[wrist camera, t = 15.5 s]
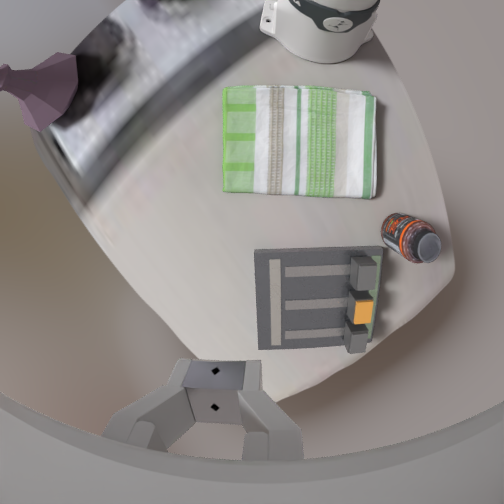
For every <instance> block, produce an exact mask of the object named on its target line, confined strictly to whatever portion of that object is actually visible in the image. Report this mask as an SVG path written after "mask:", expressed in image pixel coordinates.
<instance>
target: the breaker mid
mask: <svg viewBox="0 0 504 504" xmlns="http://www.w3.org/2000/svg"><path fill="white" fill-rule="evenodd" d="M373 299H374V298H373V297H372V296H371V295H370V293H369V292H368V291H367V290H362V291H358V290H355V291H349V296H348V307H347V315H348V317H349V319H350V320H351V322H352V324H364V323H371V316H372V309H373V302H374V301H373Z"/></svg>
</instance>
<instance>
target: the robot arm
mask: <svg viewBox="0 0 504 504" xmlns="http://www.w3.org/2000/svg"><path fill="white" fill-rule="evenodd" d="M379 3H380V0H265V3H264V8H263V12H262V17H261V22H260V30H261V31H262V32H263V33H265V34H267V35H269V36H272V37H274V38H276V39H277V40H278V41H279V42H280V43H281V44H282V45H283V46H284V47H285V48H286V49H288V50H289V51H290V52H292V53H293V54H295V55H297V56H299V57H301V58H303V59H306V60H309V61H313V62H317V63H337V62H341V61H344V60H346V59H348V58H350V57H351V56H353V55H354V54H355V53H356V51H357V50H358V48H359V47H360V46H361V45H362V44H363V43H366V42H368V41H370V40H371V39H372V37H373V31H372V29H371V28H372V26H373V24H374V22H375V20H376V18H377V13H376V12H375V11H376V10H377V8H378V5H379ZM266 21H271V22H266ZM195 422H204V423H221V424H237V425H242V426H243V428H244V429H245V430H246V432H247V434H246V435H245V438H244V446H243V454H242V460H225V459H211V458H202V457H194V456H186V455H179V454H173V453H168V451H167V449H168V448H169V447H170V446H171V445H172V444H173V443H174V442H175V441H177V439H179V438H180V437H181V436H182V435H183V434H184V433H186V431H188V430H189V429H190V428H191V427H192V426H193V425H194V424H195ZM0 504H504V401H503V402H501V403H499V404H497V405H495V406H494V407H492V408H490V409H488V410H486V411H484V412H482V413H479V414H477V415H475V416H473V417H471V418H469V419H466V420H464V421H462V422H459V423H457V424H454V425H452V426H449V427H447V428H444V429H441V430H439V431H436V432H433V433H430V434H427V435H424V436H421V437H418V438H414V439H411V440H408V441H405V442H401V443H397V444H393V445H389V446H385V447H380V448H376V449H371V450H366V451H361V452H356V453H350V454H343V455H337V456H330V457H321V458H310V459H304V452H303V441H302V430H301V429H300V428H299V427H298V426H297V425H296V424H295V423H294V422H293V421H292V420H291V419H290V418H289V417H288V416H287V415H286V414H285V412H284V411H282V409H281V408H280V407H279V406H278V405H277V404H276V403H275V402H274V401H273V400H272V399H271V398H270V397H269V396H268V395H267V393H266V392H265V391H263V388H262V364H261V360H247V361H219V360H202V359H185V358H180V359H178V361H177V363H176V365H175V367H174V369H173V372H172V374H171V376H170V378H169V380H168V383H167V385H166V386H164V385H162V386H161V387H159V388H157V389H156V390H154V391H152V392H151V393H149V394H147V395H145V396H144V397H142V398H141V399H139V400H137V401H135V402H133V403H132V404H130V405H128V406H127V407H125V408H123V409H121V410H119V411H117V412H116V413H114V414H113V416H112V418H111V419H110V421H109V423H108V425H107V426H106V428H105V430H104V432H103V433H102V435H101V436H98V435H95V434H92V433H89V432H86V431H83V430H81V429H77V428H75V427H72V426H70V425H67V424H64V423H62V422H60V421H57V420H55V419H53V418H50V417H48V416H46V415H44V414H42V413H40V412H37V411H35V410H33V409H31V408H29V407H27V406H25V405H23V404H21V403H20V402H18V401H16V400H14V399H12V398H10V397H9V396H7V395H5V394H3V393H2V392H0Z"/></svg>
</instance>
